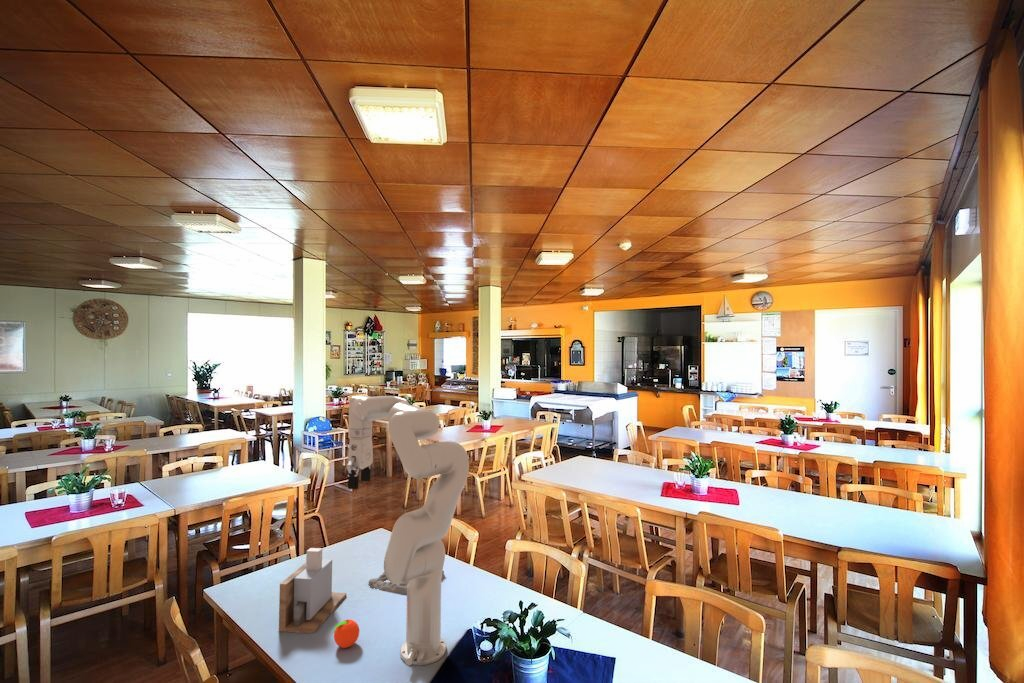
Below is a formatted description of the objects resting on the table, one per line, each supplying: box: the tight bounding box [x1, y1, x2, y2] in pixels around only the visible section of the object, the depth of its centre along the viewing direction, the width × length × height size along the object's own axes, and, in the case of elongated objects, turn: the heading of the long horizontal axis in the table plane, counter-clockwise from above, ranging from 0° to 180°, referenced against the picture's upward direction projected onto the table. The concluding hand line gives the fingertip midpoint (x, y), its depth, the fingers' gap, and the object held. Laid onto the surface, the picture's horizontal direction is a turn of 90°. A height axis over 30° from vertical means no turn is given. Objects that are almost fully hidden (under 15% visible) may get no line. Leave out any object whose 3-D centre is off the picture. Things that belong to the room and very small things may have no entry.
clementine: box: [330, 618, 360, 649], centre depth 134 cm, size 8×7×7 cm
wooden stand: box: [278, 562, 347, 634], centre depth 152 cm, size 22×11×14 cm, turn 175°
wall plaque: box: [368, 570, 446, 596], centre depth 173 cm, size 24×19×4 cm
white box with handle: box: [293, 547, 333, 620], centre depth 152 cm, size 14×5×18 cm, turn 175°
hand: (359, 484), depth 156 cm, fingers open, 9 cm apart
